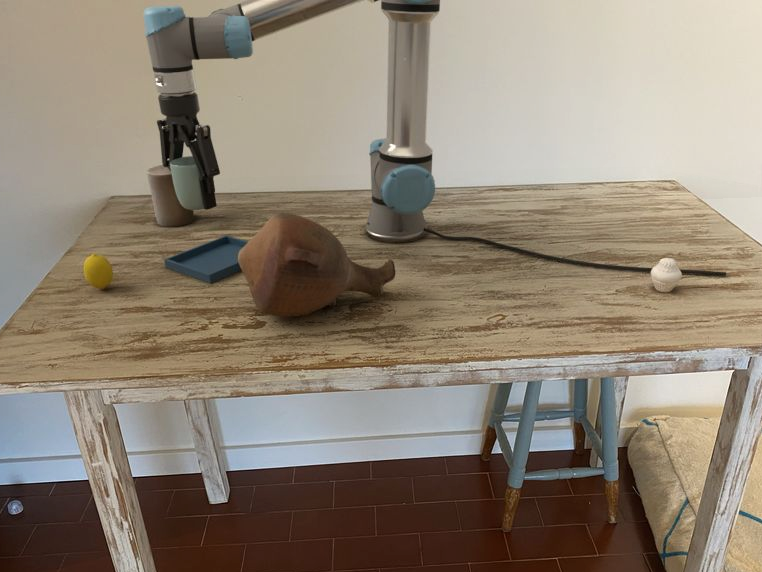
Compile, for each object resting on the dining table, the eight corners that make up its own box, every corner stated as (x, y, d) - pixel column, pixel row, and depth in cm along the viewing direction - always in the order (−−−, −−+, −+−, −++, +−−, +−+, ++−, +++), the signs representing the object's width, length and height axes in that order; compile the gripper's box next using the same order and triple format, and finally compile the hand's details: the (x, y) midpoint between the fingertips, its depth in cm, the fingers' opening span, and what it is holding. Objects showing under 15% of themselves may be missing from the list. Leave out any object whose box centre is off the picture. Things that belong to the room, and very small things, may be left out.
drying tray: (272, 256, 165) (271, 248, 164) (210, 283, 152) (209, 275, 151) (227, 242, 172) (226, 235, 171) (165, 267, 160) (164, 259, 159)
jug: (235, 335, 132) (392, 341, 140) (240, 246, 119) (411, 258, 128) (235, 272, 147) (376, 281, 155) (239, 187, 134) (393, 201, 143)
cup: (206, 214, 148) (198, 166, 143) (172, 212, 149) (162, 165, 144) (222, 202, 155) (214, 156, 150) (189, 200, 156) (180, 155, 151)
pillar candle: (202, 218, 188) (193, 162, 180) (173, 229, 180) (162, 171, 173) (177, 212, 192) (167, 156, 185) (148, 222, 185) (136, 165, 177)
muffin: (641, 285, 149) (647, 255, 146) (665, 281, 152) (670, 250, 148) (661, 297, 144) (667, 265, 141) (685, 292, 147) (691, 260, 143)
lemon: (90, 297, 147) (80, 261, 143) (87, 286, 151) (78, 251, 147) (118, 291, 149) (109, 256, 145) (114, 281, 153) (106, 247, 149)
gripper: (128, 91, 143) (151, 200, 154) (197, 101, 132) (216, 218, 144) (159, 85, 148) (179, 191, 160) (227, 94, 138) (243, 207, 149)
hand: (197, 204), depth 152 cm, fingers closed on cup, 8 cm apart
